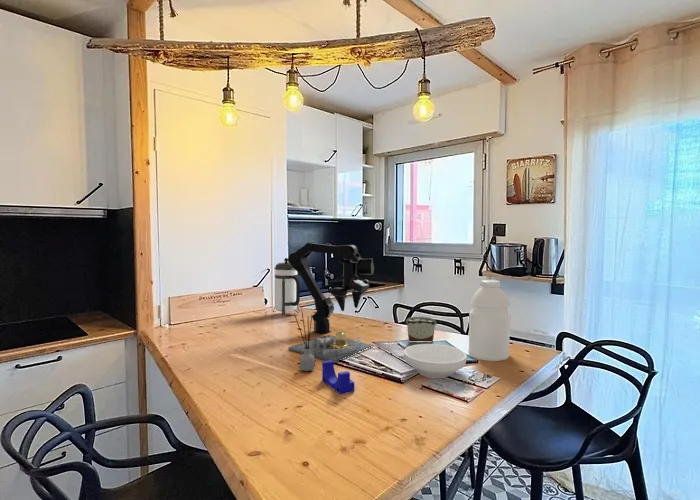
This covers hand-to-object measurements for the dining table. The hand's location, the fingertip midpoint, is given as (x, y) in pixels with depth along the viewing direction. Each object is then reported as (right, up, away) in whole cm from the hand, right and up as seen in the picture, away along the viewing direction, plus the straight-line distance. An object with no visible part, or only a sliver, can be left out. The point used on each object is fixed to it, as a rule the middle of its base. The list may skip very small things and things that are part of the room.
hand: (349, 309), depth 172 cm
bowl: (+27, -14, -47) cm, 56 cm away
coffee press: (-34, -9, +44) cm, 56 cm away
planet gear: (-3, -11, -24) cm, 27 cm away
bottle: (+50, -13, -30) cm, 60 cm away
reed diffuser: (-15, -14, -44) cm, 48 cm away
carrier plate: (-7, -12, -21) cm, 25 cm away
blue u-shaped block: (-3, -15, -56) cm, 58 cm away
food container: (+29, -12, -11) cm, 33 cm away
